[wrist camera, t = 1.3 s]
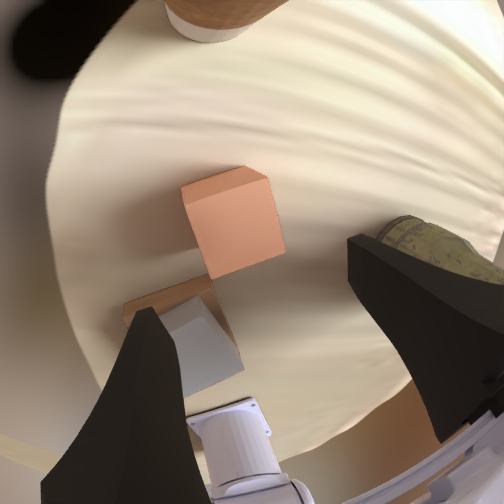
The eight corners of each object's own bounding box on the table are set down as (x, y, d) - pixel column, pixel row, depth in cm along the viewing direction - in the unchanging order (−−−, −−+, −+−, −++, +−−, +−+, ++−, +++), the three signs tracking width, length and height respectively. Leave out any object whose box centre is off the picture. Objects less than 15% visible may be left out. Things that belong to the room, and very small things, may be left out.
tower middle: (237, 347, 23) (244, 369, 20) (175, 378, 22) (177, 400, 20) (197, 294, 20) (202, 315, 18) (129, 332, 20) (127, 354, 17)
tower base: (233, 336, 25) (240, 355, 23) (161, 360, 24) (162, 380, 22) (207, 270, 22) (212, 286, 20) (124, 300, 21) (121, 318, 19)
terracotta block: (260, 225, 21) (286, 252, 17) (201, 246, 21) (211, 279, 16) (244, 165, 19) (268, 177, 15) (180, 186, 19) (184, 205, 14)
